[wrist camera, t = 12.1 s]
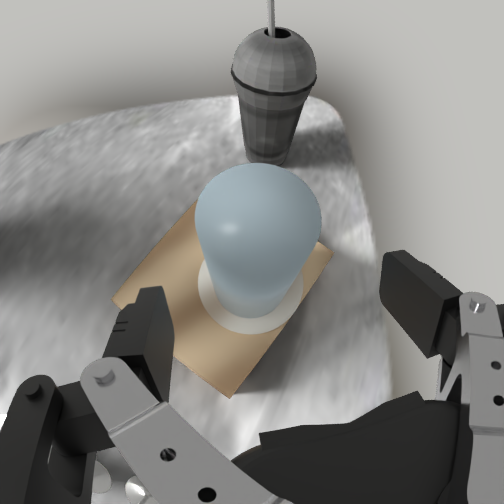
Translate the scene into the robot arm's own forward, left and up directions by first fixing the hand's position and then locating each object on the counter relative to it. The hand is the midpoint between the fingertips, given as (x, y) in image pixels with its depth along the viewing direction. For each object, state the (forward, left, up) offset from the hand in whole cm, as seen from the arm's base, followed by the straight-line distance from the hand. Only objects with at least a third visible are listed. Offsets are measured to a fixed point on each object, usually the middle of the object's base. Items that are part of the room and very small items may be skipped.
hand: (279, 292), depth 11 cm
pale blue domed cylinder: (-3, +3, -12) cm, 13 cm away
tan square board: (-5, +2, -17) cm, 17 cm away
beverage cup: (-11, +17, -17) cm, 26 cm away
